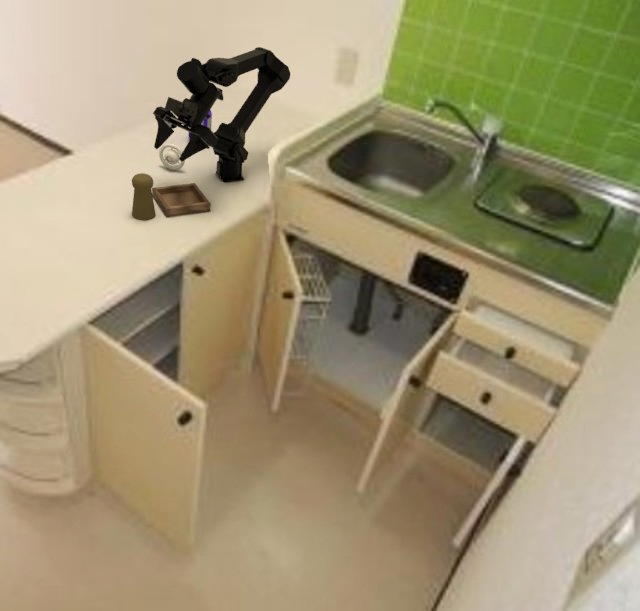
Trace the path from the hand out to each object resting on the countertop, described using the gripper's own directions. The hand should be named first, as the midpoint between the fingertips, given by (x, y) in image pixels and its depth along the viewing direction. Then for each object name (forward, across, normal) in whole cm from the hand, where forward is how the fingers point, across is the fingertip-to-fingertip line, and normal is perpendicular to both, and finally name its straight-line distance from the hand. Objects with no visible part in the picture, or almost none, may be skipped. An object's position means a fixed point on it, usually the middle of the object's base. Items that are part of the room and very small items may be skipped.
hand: (167, 154), depth 164 cm
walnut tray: (+8, +2, +12) cm, 14 cm away
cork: (+16, +1, +4) cm, 17 cm away
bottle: (-15, -23, +34) cm, 44 cm away
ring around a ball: (-1, -15, +21) cm, 26 cm away
